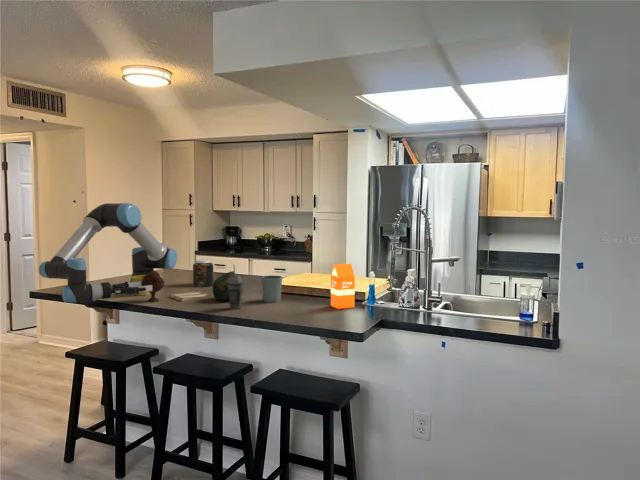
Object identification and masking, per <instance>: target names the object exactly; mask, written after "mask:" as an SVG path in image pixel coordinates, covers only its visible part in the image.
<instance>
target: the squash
mask: <svg viewBox="0 0 640 480" xmlns="http://www.w3.org/2000/svg"><path fill="white" fill-rule="evenodd" d="M231 275H234V270H233V271H228V272H226V273H223V274H222V275H221V276H218V277H217V278H216V279H214V284H213V286H212V294H213V297H214V298H215V299H216V300H217V301H219V302H222V301H223V302H225V301H227V300H229V291H228V286H227V281H228V278H229V277H230V276H231ZM242 295H243V293H242V294H241V296H242Z"/></svg>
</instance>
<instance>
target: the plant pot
mask: <svg viewBox="0 0 640 480" xmlns="http://www.w3.org/2000/svg"><path fill="white" fill-rule="evenodd" d="M144 276H145V275H139V276H133V277H132V282H142V279H143V277H144ZM135 291H136V290H135ZM135 295H136V296H137V297H138V296H142V297H143V296H149V295H151V293H149V292H139V294H137V293H135Z"/></svg>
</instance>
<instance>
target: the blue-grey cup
mask: <svg viewBox="0 0 640 480" xmlns="http://www.w3.org/2000/svg"><path fill="white" fill-rule="evenodd" d="M282 284H283V276H282V275H271V274H270V275H263V276H261V286H262V301H263V302H264V303H278V302H280V301H281V298H282V297H281V296H282V294H281V293H282Z"/></svg>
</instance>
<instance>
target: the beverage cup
mask: <svg viewBox="0 0 640 480" xmlns="http://www.w3.org/2000/svg"><path fill="white" fill-rule="evenodd" d="M235 267H236V266H235V264H233V272H234V275H231V276H230V277H229V278H228V281H227V286H228V291H229V301H228V302H229V309H230V308H231V310H239V309H238V308H240V309H241V305H242V295H243V284H244V280H243V278H242V277H241V276H240V275H239V274H236V268H235ZM241 294H242V295H241Z"/></svg>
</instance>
